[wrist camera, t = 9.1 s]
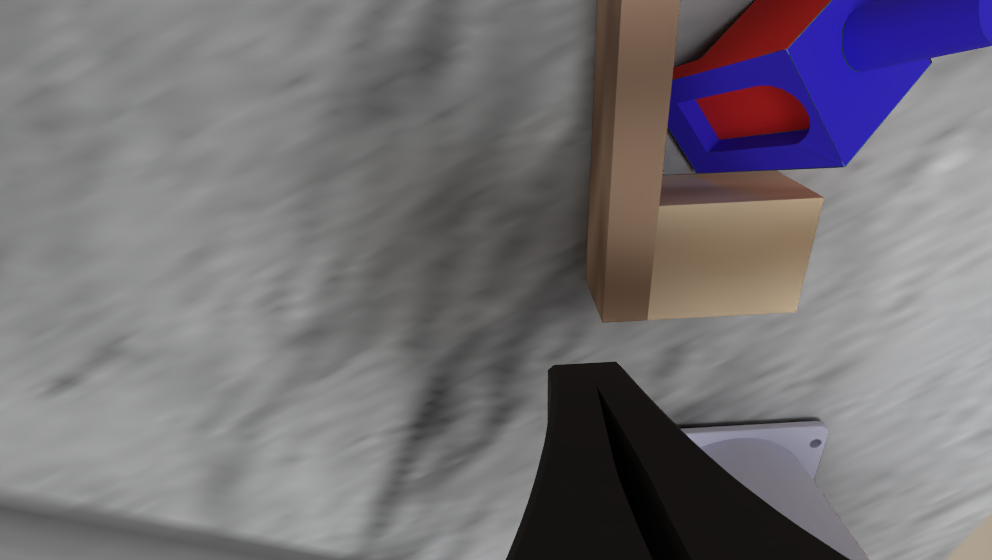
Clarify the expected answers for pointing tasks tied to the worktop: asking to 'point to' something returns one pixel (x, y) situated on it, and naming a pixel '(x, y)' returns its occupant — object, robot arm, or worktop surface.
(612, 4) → the beech bracket
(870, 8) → the toy building block
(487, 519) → the worktop surface
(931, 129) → the worktop surface
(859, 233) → the worktop surface
